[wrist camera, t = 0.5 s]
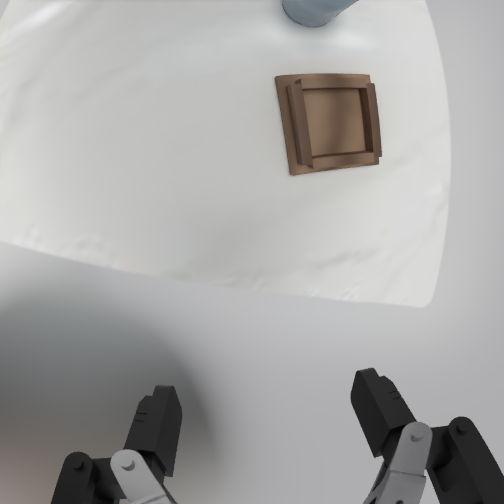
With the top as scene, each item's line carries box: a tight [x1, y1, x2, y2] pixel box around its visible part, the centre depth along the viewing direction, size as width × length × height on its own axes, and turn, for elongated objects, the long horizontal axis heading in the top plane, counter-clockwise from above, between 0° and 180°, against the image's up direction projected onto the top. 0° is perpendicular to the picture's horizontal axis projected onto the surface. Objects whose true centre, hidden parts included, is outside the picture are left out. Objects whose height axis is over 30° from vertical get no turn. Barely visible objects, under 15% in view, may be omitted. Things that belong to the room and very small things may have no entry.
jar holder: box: [275, 74, 382, 175], centre depth 28 cm, size 12×12×3 cm
